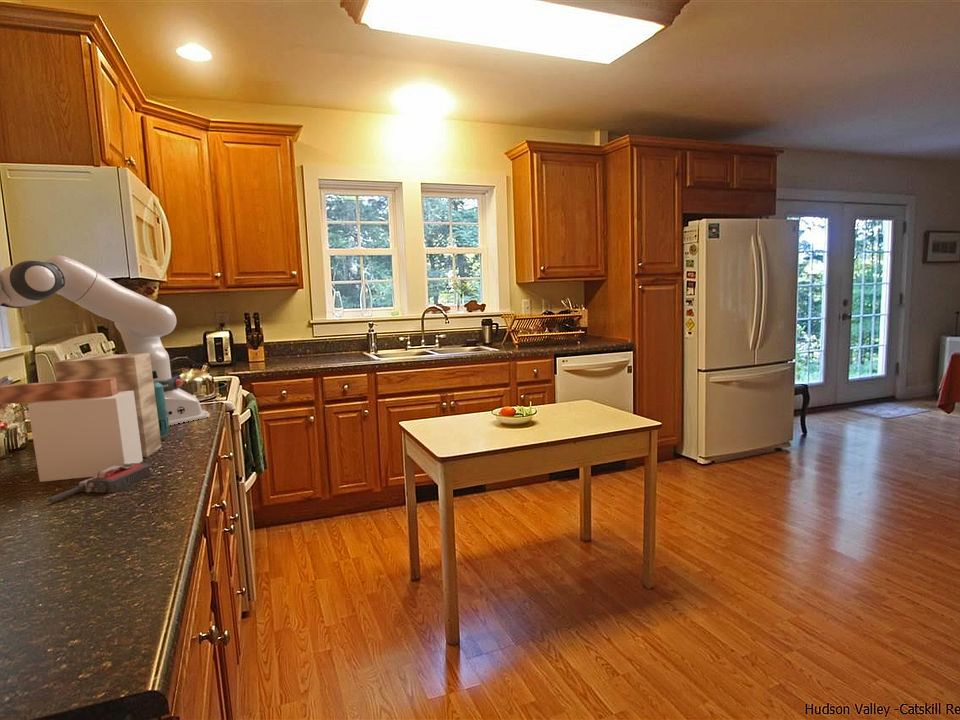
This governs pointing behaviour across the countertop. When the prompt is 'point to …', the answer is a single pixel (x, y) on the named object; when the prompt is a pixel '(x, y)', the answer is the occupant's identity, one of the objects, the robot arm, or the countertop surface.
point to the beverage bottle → (161, 406)
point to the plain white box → (84, 435)
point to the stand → (122, 387)
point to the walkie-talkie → (110, 479)
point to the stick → (57, 390)
